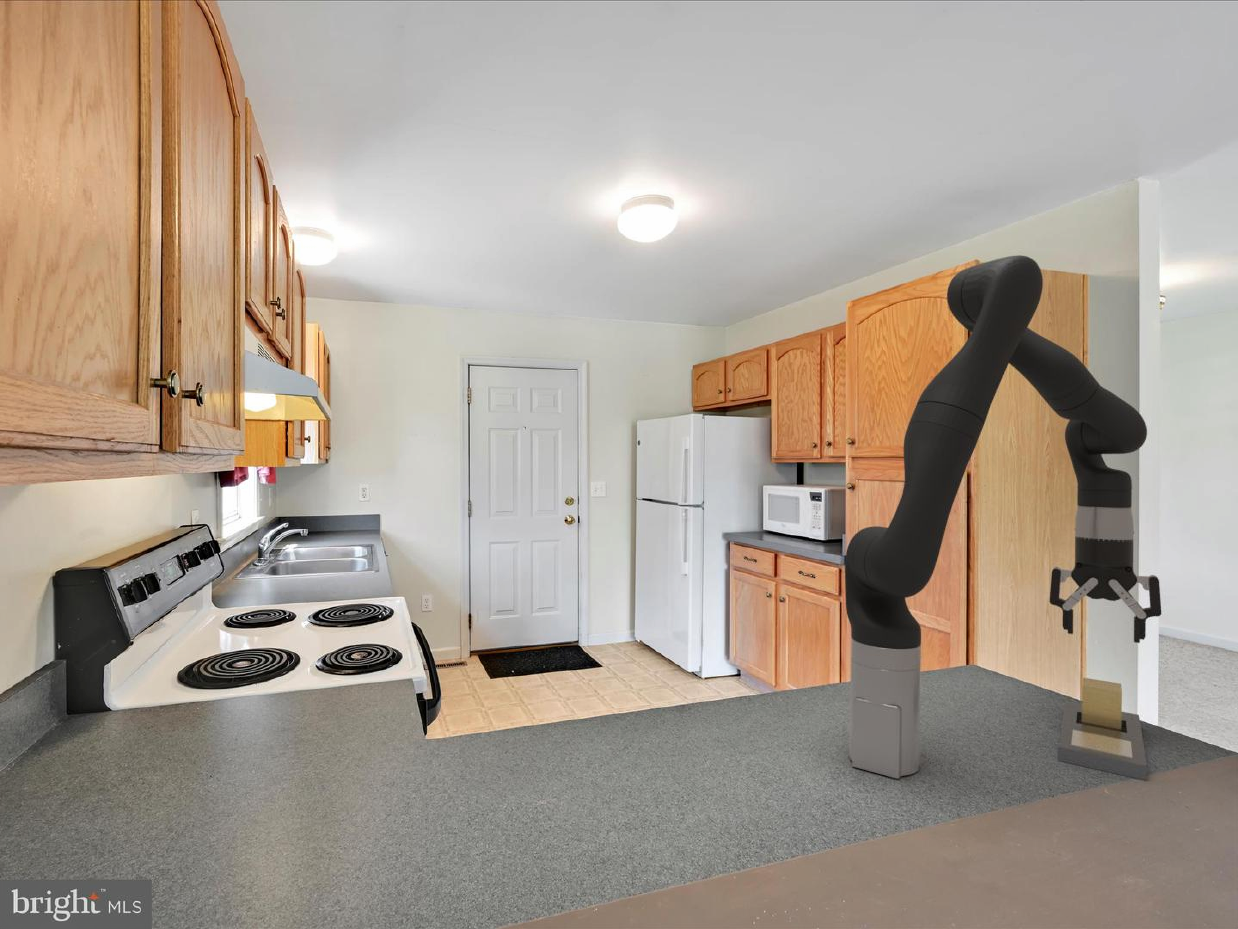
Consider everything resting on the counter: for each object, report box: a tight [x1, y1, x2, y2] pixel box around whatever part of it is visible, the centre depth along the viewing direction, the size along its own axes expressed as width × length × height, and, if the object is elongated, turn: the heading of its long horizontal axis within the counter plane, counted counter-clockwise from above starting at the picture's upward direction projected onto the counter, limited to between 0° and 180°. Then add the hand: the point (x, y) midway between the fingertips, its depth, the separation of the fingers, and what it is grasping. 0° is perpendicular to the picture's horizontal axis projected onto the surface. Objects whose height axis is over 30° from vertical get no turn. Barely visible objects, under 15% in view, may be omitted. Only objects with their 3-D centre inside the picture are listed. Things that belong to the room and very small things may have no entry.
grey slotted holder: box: [1057, 700, 1148, 782], centre depth 102 cm, size 24×10×2 cm, turn 144°
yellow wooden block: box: [1081, 677, 1123, 732], centre depth 106 cm, size 5×5×8 cm
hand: (1102, 637), depth 106 cm, fingers open, 8 cm apart
